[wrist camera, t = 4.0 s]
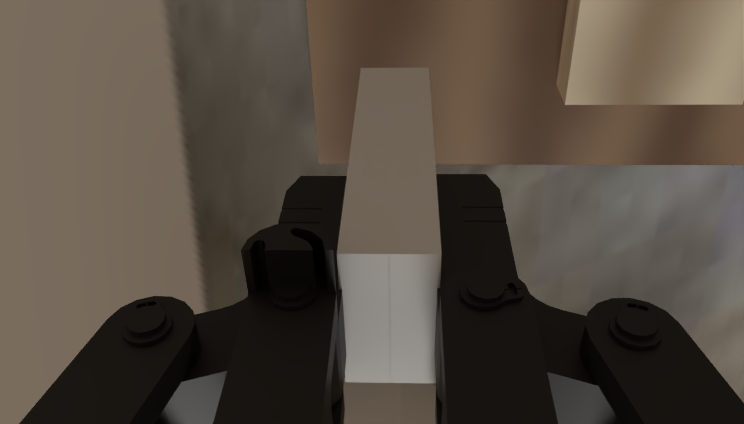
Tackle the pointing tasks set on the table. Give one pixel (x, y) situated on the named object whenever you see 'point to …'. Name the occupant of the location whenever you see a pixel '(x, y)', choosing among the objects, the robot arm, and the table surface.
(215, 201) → the table surface
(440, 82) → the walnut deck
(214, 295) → the table surface
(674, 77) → the maple tile
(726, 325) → the table surface
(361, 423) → the jar
